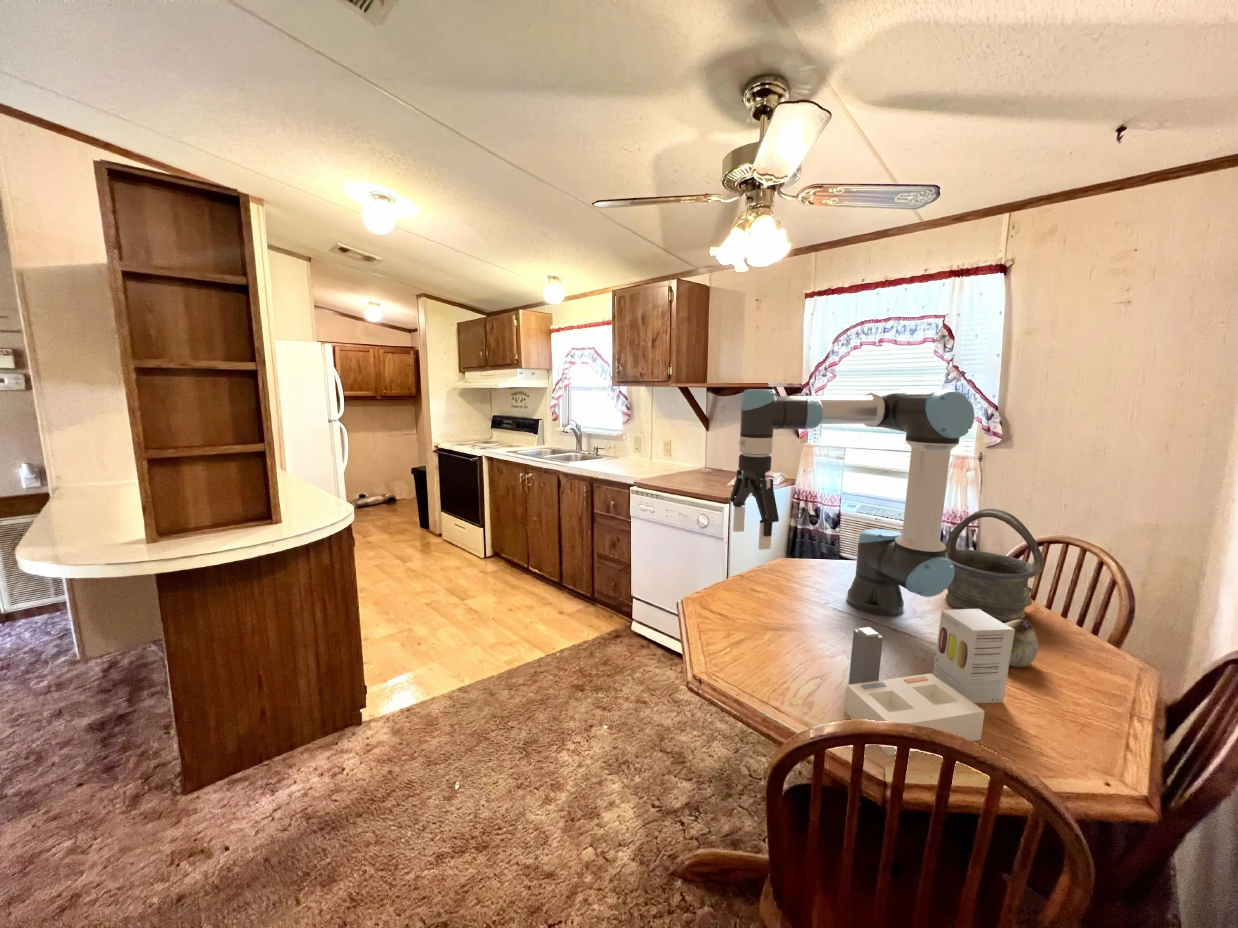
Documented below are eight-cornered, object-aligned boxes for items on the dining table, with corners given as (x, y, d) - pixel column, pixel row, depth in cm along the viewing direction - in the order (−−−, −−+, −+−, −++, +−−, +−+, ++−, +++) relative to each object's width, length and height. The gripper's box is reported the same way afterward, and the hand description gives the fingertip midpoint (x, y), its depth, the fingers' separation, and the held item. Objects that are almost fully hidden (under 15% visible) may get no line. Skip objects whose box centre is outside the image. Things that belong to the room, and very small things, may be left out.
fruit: (1021, 677, 109) (1029, 629, 107) (975, 657, 117) (982, 611, 115) (1043, 666, 114) (1051, 619, 112) (997, 646, 122) (1004, 602, 120)
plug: (864, 681, 107) (869, 625, 105) (877, 692, 103) (883, 634, 101) (848, 683, 106) (854, 627, 104) (861, 694, 103) (866, 636, 100)
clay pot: (968, 586, 158) (980, 498, 153) (1051, 618, 137) (1068, 517, 132) (920, 596, 151) (931, 504, 146) (1001, 632, 129) (1016, 525, 124)
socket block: (926, 698, 102) (929, 671, 101) (980, 739, 90) (984, 710, 89) (843, 710, 98) (846, 683, 96) (888, 755, 86) (892, 725, 85)
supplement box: (930, 677, 109) (939, 608, 106) (968, 675, 110) (978, 607, 107) (964, 705, 99) (974, 630, 97) (1005, 703, 100) (1016, 628, 97)
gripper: (719, 447, 125) (716, 525, 129) (767, 463, 101) (761, 558, 105) (745, 447, 127) (741, 524, 130) (799, 462, 103) (792, 556, 106)
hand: (750, 539), depth 118 cm, fingers open, 13 cm apart
